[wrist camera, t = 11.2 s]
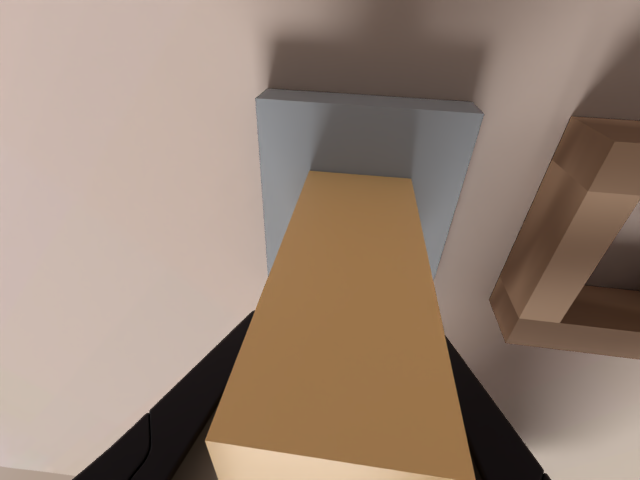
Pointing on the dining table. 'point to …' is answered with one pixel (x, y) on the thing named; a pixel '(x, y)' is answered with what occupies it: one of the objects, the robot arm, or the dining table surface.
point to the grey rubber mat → (364, 152)
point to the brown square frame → (575, 247)
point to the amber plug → (345, 350)
